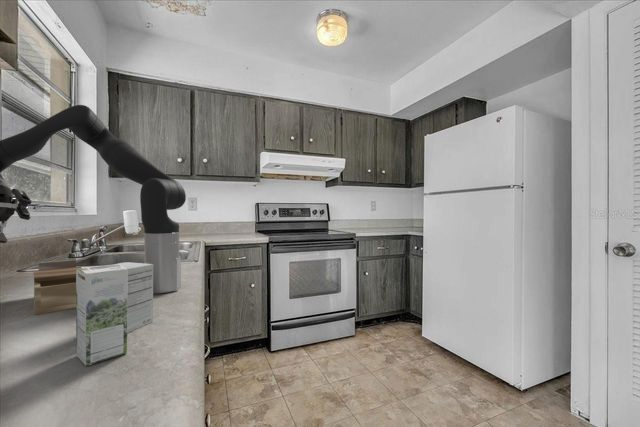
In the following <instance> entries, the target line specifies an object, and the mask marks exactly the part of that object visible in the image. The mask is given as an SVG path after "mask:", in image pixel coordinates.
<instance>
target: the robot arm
mask: <svg viewBox="0 0 640 427" xmlns="http://www.w3.org/2000/svg"><path fill="white" fill-rule="evenodd" d="M66 129H69V131H70V132H72V134H74V135H75V136H76V138H78V139H79V140H80V141H81V142H84V143H86V144H87V145H88V146H90V147H91V148H93V149H94V150H96V151H97V153H98V154H99V156H100V158H101V159H102V160H103V161H104V162H105V164H107V165H108V167H110V168H111V169H112V170H113V171H114V172H116V173H117V174H118V175H120V176H122V177H124V178H126V179H128V180H130V181H132V182H135V183H136V184H139V185H141V187H140V196H139V198H140V199H139V200H140V216H141V218H140V219H141V224H142V226H143V229H144V232H143V233H144V239H143V240H144V264H153V294H163V293H164V294H165V293H170V292H177V291H178V290H180V288H181V286H182V257H181V255H180V224H179V222H177V221H175V220H172V219H171V217H169V215H168V211H171V210H179V209H180V208H181V207H183V206H184V204H185V203H186V200H187V197H186V196H187V194H186V190H185V189H184V187H183V185H182V184H181V183H180V182H179V181H177V180H175V179H174V178H172V177H170V175H169V174H166V173H164V172H163V171H162V170H160V169H159V168H158V167H156V165H155V164H153V163H152V162H151V161H150V160H149V159H147V158H146V157H145V156H144V155H142V153H141V152H139V151H138V150H137V149H136V148H135V147H134V146H133V145H132V144H130V143H129V142H127V141H125V140H123V139H120V138H118V137H116V136H115V135H114V134H113V133H112V132H111V131H110V130H109V129H108V128H107V126H106V125H105V124H104V122H103V121H102V120H101V119H100V118H99V117H98V115H97V114H95V112H94V111H93V110H92V109H91V108H90V107H89V106H87V105H85V104H76V105H72V106H69V107H67V108H65V109H63V110H61V111H59V112H58V113H56V114H54V115H52V116H49V117H48V118H47V119H45V120H43V121H40V122H38V123H37V124H36V125H34V126H33V127H31V128H29V129H26V130H24V131H22V132H20V133H19V132H18V134H15V135H11V136H9V137H6V138H3V139H1V140H0V244H6V243H7V242H8V239H7V237H6V235H5V232H4V228H6V227H7V224H8V220H9V219H10V218H11V217H12V216H13V215H14V214H15V212H16V213H17V216H18V217H19V218H20V219H22V220H26V221H29V220H30V219H31V213H30V212H29V210H28V209H29V207H28V206H29V205H30V206H31V204H32V200H31V199H30V197H29V195H28V194H27V193H26V192H25V191H23V190H21V189H17V188H12V189H11V187H10V185H9V184H8V183H7V182H6V180H5V179H4V177H3V175H2V174H1V173H2V172H3V171H4V170H6V169H7V168H9V167H10V166H11V165H13V164H14V163H16V162H18V161H22V160H24V159H27V158H29V157H32V156H34V155H36V154H38V153H40V151H42V150H43V148H44V147H45V146H46V144H47V142H48V141H49V140H50V139H51V138H52V137H53V136H54V135H55V134H57V133H58V132H60V131H63V130H66Z"/></svg>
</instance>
